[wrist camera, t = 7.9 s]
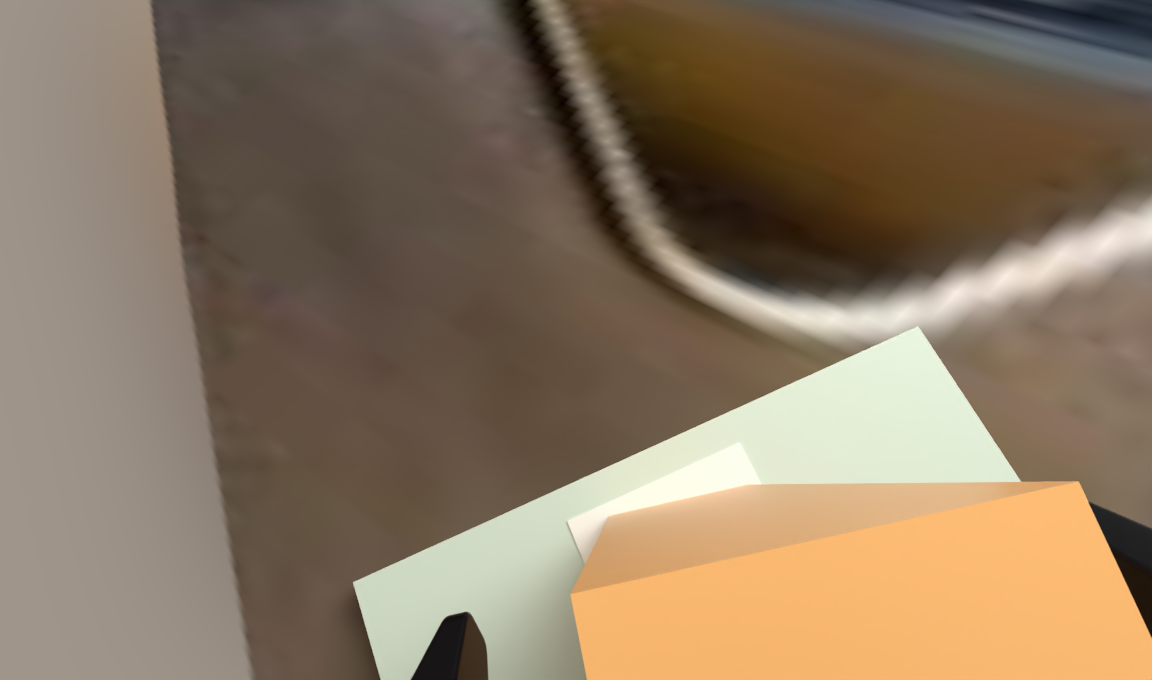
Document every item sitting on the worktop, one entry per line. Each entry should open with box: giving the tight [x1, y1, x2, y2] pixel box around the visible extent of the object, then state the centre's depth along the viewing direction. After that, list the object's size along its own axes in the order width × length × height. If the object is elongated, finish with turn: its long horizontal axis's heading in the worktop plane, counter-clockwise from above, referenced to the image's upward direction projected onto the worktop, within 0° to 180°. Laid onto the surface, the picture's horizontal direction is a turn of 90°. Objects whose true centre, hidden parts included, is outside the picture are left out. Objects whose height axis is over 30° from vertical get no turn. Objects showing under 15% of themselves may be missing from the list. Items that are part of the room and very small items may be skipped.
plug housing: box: [570, 481, 1152, 680], centre depth 10 cm, size 4×4×13 cm
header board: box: [353, 326, 1021, 680], centre depth 15 cm, size 10×20×4 cm, turn 114°
